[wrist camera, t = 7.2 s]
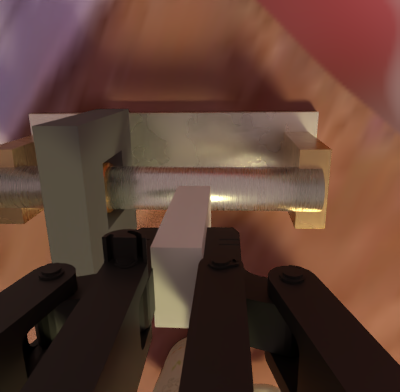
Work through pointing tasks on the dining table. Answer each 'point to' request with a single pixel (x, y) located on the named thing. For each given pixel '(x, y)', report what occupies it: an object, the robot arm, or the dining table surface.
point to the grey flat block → (81, 183)
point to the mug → (172, 370)
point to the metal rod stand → (195, 164)
